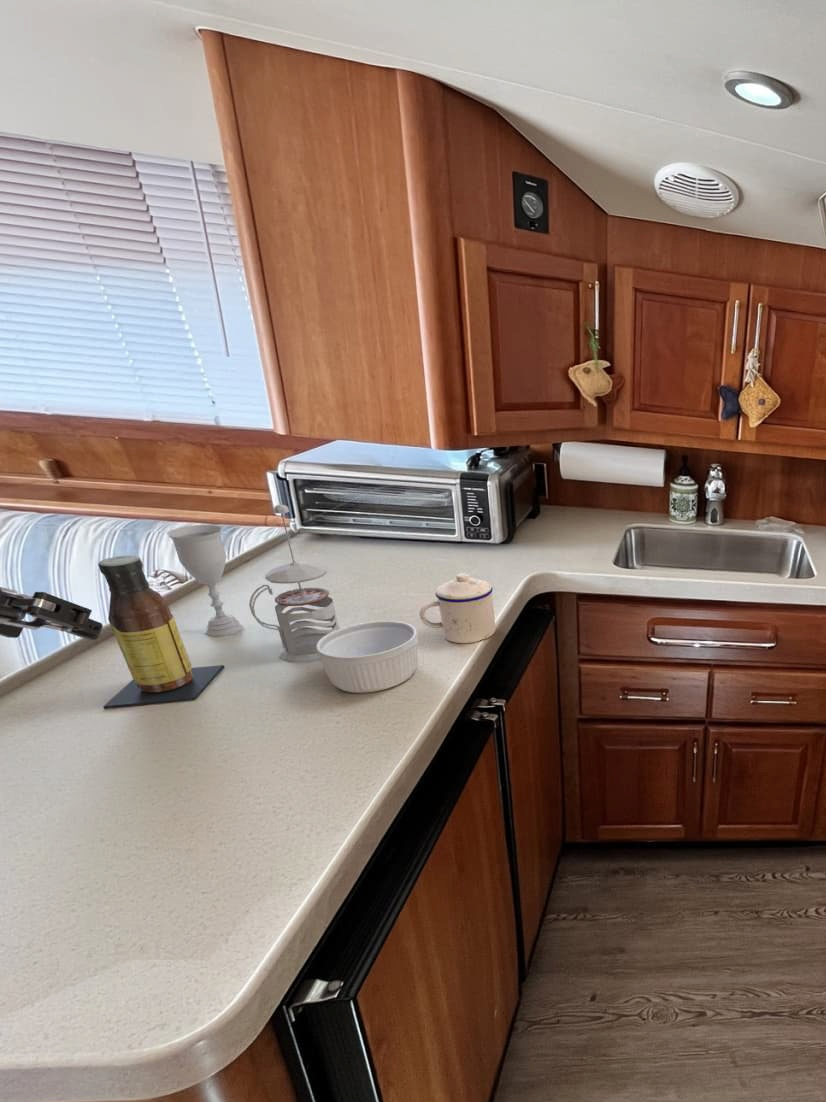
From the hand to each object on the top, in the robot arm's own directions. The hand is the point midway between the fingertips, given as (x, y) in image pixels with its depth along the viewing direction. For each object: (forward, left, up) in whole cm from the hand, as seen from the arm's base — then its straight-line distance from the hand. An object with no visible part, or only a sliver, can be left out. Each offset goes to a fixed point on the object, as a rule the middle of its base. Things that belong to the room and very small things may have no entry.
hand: (58, 631), depth 78 cm
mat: (+3, +11, -15) cm, 18 cm away
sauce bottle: (+3, +11, -14) cm, 18 cm away
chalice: (+3, +31, -15) cm, 34 cm away
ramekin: (+30, +8, -15) cm, 34 cm away
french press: (+18, +20, -15) cm, 30 cm away
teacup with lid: (+41, +21, -15) cm, 48 cm away
